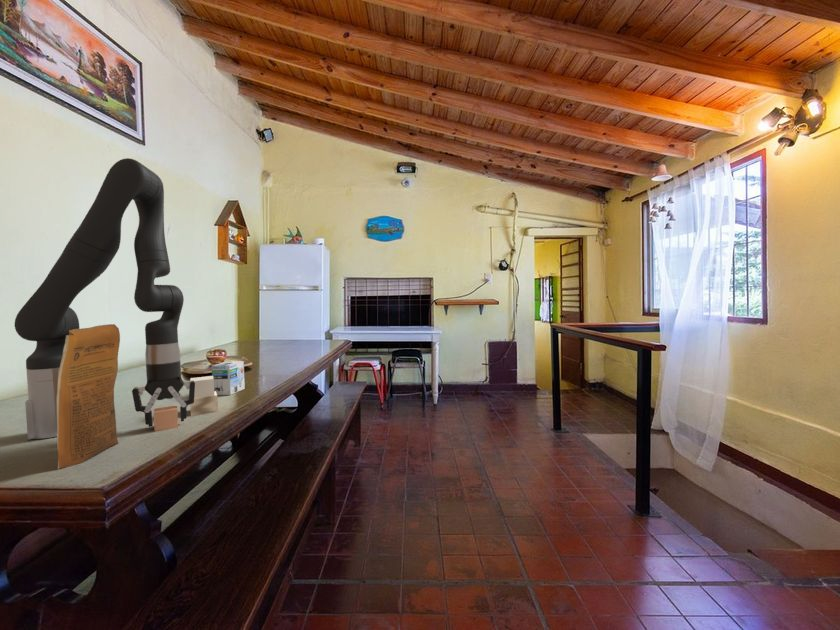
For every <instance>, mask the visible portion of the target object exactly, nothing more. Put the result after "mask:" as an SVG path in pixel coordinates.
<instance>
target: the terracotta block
mask: <svg viewBox="0 0 840 630" xmlns="http://www.w3.org/2000/svg"><path fill="white" fill-rule="evenodd" d="M178 413H179V412H178V404H172V405H166V406H159V407H154V410H153V425H154V432H159V431H164V430H165V431H166V430H170V429H176V428H178V427H179V418H178V417H179V415H178Z"/></svg>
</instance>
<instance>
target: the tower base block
mask: <svg viewBox="0 0 840 630" xmlns="http://www.w3.org/2000/svg"><path fill="white" fill-rule="evenodd" d="M189 406H190V417H192V416H198V415H199V416H200V415H204V414H205V415H206V414H210V413H211V414H213V413H218V412H219V399H218V395H217V393H216V391H214V396H207V397H200V398H194V403H193V404H190V405H189Z"/></svg>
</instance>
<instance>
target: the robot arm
mask: <svg viewBox="0 0 840 630" xmlns="http://www.w3.org/2000/svg"><path fill="white" fill-rule="evenodd" d="M164 190H165V189H164V183H163V181H162V179H161V178H160V177H159V175H158V174H156V173H155V172H154V171H152V170H151V169H150V168H148V167H147V166H145V164H142V163H141V162H139V161H138V160H136V159H134V158H122V159H120V160H118V161H116V162H115V163H114V164H113V165H112V166H111V167H110V169H109V170H108V172H107V174H106V175H105V178H104V180H103V182H102V184H101V186H100V189H99V191H98V192H97V195H96V196H95V199H94V201H93V203H92V205H91V207H89V210H88V211H87V213H86V215H85V217H84V218H83V220H82V221H81V223H80V224H79V226H78V228H77V229H76V231H75V232H74V233H73V235H72V236H71V237H70V239H69V240H68V242H67V244H66V245H65V247H64V249H63V251H62V252H61V254H60V255H59V257H58V259H56V262H55V263H54V264H53V266H52V267H51V269H50V271H49V273H48V274H47V276H46V277H45V279H44V281H43V282H42V283H41V284H40V285H39V287H38V288H37V289H36V291H34V292H33V294H31V296H30V297H29V299H28V300H27V301H26V302H25V303H24V305H23V306H22V307H21V308H20V310H19V311H18V313H17V314H16V316H15V319H14V329H15V332H16V333H17V335H18V336H19V337H20V338H22V339H23V340H26V341H30V342H36V346H35V349H34V351H33V352H31V354H30V355H29V356H28V357H27V358H26V360H25V369H26V370H25V371H26V382H27V383H26V384H27V396H28V398H27V399H26V401H25V414H26V415H25V417H26V432H27V440H34V439H35V440H36V439H38V440H39V439H50V438H55V437H56V438H57V385H58V376H59V370H60V364H61V360H62V356H63V349H64V345H65V340H66V335H69V330H73V329H80V321H79V320H80V319H79V316H78V315H77V312H76V311H75V310H74V309H73V308H72V307H71V304H72V302H73V301H74V300H75V299H76V298H77V296H78V295H79V294H80V293H81V292H82V291H83V290H84V289H86V288H87V287H88V286H89V285H91V284H92V283H93V282H94V281H95V280H96V279H98V278H99V277H100V276H101V275H102V274H103V273H104V272H105V271H106V270H107V268H108V267H109V266H110V264H111V263H112V261H113V259H114V258H115V256H116V255H117V253H118V251H119V249H120V246H121V241H122V239H121V237H122V221H123V216H124V213H125V211H126V210H127V208H128V207H129V205H130V203H131V202H132V200H133V201H134V203H135V206H136V209H137V213H138V226H137V229H136V233H135V235H134V243H133V249H134V255H135V261H136V266H137V274H136V275H137V276H136V284H135V288H134V294H133V295H134V297H133V299H134V303H135V305H136V307H137V308H138V309H139V310H140V311H142V312H145V313H161V312H162V314H161V317H160V318H159V319H157V320H153V321H149V322H147V323H146V324H145V327H144V328H145V329H144V332H145V334H144V335H145V354H144V355H145V370H146V373H145V374H146V384H145V385H143V386H140V387H138V386H134V387H133V388H132V390H131V393H132V398H133V404H134V410H135V412H142V413H144V422H145V425H147V426H148V427H149V428H150V427H153V425H154V422H153V411H152V408H153V407H154V405H155V403H156V401H157V400H158V401H163V400H165V399H167V400H170V399H171V400H172V399H173V398H174V399H175V400H176V402H177V403H178V404H179V408H180V409H179V412H180V413H179V414H180V422H184V421H185V419H187V416H188V415H187V407H188V406H190V404H193V403H194V393H195V381H193V380H192V381H190V380H189V381H184V380H183V379H182V367H181V366H182V365H181V364H182V363H181V350H180V349H181V348H180V346H179V345H180V344H179V334H178V326H179V322H180V318H181V317H180V316H181V313H182V310H183V307H184V301H185V299H184V295H183V292H182V290H181V289H180V288H179V287H178V286H176V285H174V284H173V285H172V284H155V279H157V278H164V277H166V276H168V275H169V274H170V272H171V265H170V259H169V254H168V250H167V249H168V248H167V244H166V237H165V236H166V235H165V212H164V211H165V206H164V205H165V191H164ZM183 387H185V389H186V390H188V392H189V393H188V399H184V397H183V395H181V393H180V391H181V390H182V388H183ZM145 391H146V392H147V393H148V394H149V395H150V396H151V397H150V399H149V400H148V402H147V404H146V405H143V403H142V399H141V396H143V395H144V392H145Z"/></svg>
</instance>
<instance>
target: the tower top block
mask: <svg viewBox="0 0 840 630" xmlns="http://www.w3.org/2000/svg"><path fill="white" fill-rule="evenodd" d="M192 380H193V381H195V393H194V398H200V397H207V396H214V378H213V376H212V375H207V376H201V377H200V376H199V377H198V376H197V377H190V380H189V381H192Z"/></svg>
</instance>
